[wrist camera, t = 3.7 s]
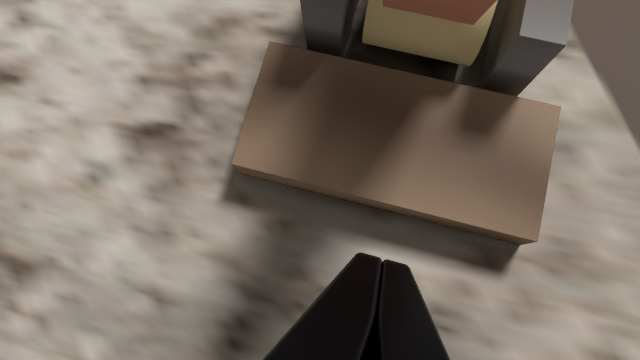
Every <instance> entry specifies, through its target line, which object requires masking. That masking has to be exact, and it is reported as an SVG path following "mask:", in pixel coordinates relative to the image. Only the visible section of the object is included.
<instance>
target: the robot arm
mask: <svg viewBox="0 0 640 360" xmlns="http://www.w3.org/2000/svg"><path fill="white" fill-rule="evenodd" d="M263 360H450V358H449V356H448V354H447V352H446V349H445V347H444V345H443V343H442V340H441V338H440V336H439V333H438V331H437V329H436V327H435V324H434V322H433V320H432V318H431V315H430V313H429V311H428V309H427V306H426V304H425V302H424V300H423V297H422V295H421V293H420V291H419V288H418V286H417V284H416V282H415V279H414V277H413V275H412V272H411V270H410V268H409V267H408V266H407V265H405V264H402V263H398V262H395V261H391V260H384V261H383V262H382V260H381V259H380V258H379V257H376V256H372V255H368V254H364V253H358V254H356V255H355V256H354V257H353V258H352V259H351V261H350V262H349V263H348V264H347V265H346V266H345V267H344V268H343V270H342V271H341V272H340V273H339V274H338V275H337V276H336V277H335V279H334V280H333V281H332V282H331V283H330V284H329V285H328V286H327V288H326V289H325V290H324V291H323V292H322V293H321V294H320V295H319V297H318V298H317V299H316V300H315V301H314V302H313V303H312V304H311V306H310V307H309V308H308V309H307V310H306V311H305V312H304V313H303V315H302V316H301V317H300V318H299V319H298V320H297V321H296V322H295V324H294V325H293V326H292V327H291V328H290V329H289V330H288V331H287V333H286V334H285V335H284V336H283V337H282V338H281V339H280V340H279V342H278V343H277V344H276V345H275V346H274V347H273V348H272V349H271V351H270V352H269V353H268V354H267V355H266V356H265V357H264V358H263Z"/></svg>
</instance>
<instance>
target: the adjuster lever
mask: <svg viewBox="0 0 640 360" xmlns="http://www.w3.org/2000/svg"><path fill="white" fill-rule="evenodd" d="M497 2H498V0H368V5H367V10H366V16H365V22H364V29H363V43H365V44H370V45H374V46H379V47H383V48H388V49H392V50H397V51H401V52H406V53H411V54H415V55H420V56H424V57H429V58H433V59H438V60H442V61H447V62H451V63H456V64H461V65H465V66H470V65H471V64H472V63H473V62H474V60H475V58H476V57H477V55H478V53H479V51H480V48H481V46H482V44H483V42H484V39H485V37H486V34H487V32H488V29H489V26H490V23H491V21H492V18H493V15H494V12H495V8H496V5H497Z"/></svg>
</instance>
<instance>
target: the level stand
mask: <svg viewBox="0 0 640 360" xmlns="http://www.w3.org/2000/svg"><path fill="white" fill-rule="evenodd" d="M358 1H359V0H300V2H301V9H302V16H303V22H304V29H305V36H306V42H307V49H308V50H306V49H302V48H297V47H293V46H288V45H284V44H279V43H275V42H269V45H268V48H267V51H266V55H265V58H264V61H263V64H262V67H261V70H260V74H259V77H258V80H257V83H256V86H255V90H254V93H253V96H252V99H251V102H250V105H249V109H248V112H247V115H246V118H245V121H244V124H243V128H242V131H241V134H240V137H239V140H238V144H237V147H236V150H235V153H234V156H233V159H232V163H231V164H232V165H233V166H234V167H235V168H236V169H237V170H238V171H239V172H240V173H242V174H246V175H250V176H254V177H258V178H261V179H265V180H269V181H273V182H277V183H281V184H285V185H289V186H293V187H297V188H301V189H304V190H308V191H312V192H316V193H320V194H324V195H328V196H332V197H336V198H340V199H344V200H347V201H351V202H355V203H359V204H363V205H367V206H371V207H375V208H379V209H383V210H387V211H391V212H394V213H398V214H402V215H406V216H410V217H414V218H418V219H422V220H426V221H430V222H434V223H437V224H441V225H445V226H449V227H453V228H457V229H461V230H465V231H469V232H473V233H477V234H480V235H484V236H488V237H492V238H496V239H500V240H504V241H508V242H512V243H516V244H520V245H522V244H528V243H533V242H538V237H539V231H540V225H541V219H542V213H543V208H544V202H545V196H546V190H547V184H548V179H549V173H550V167H551V161H552V156H553V150H554V144H555V138H556V132H557V127H558V121H559V115H560V109H561V107H560V106H556V105H551V104H547V103H542V102H538V101H533V100H529V99H524V98H520V97H517V96H518V95H519V94H520V93H521V92H522V91H523V90H524V89H525V87H526V86H527V85H528V84H529V83H530V82H531V81H532V80H533V79H534V78H535V77H536V76H537V75H538V74H539V73H540V72H541V71H542V70H543V69H544V68H545V67H546V66H547V65H548V64H549V63H550V61H551V60H552V59H553V58H554V57H555V56H556V55H557V54H558V53H559V52H560V51H561V50H562V49H563V48H564V47H565V46H566V44H567V38H568V32H569V27H570V21H571V15H572V10H573V3H574V0H499V1H498V2H497V5H496V8H495V12H494V15H493V20H492V24H491V29H490V34H489V38H488V43H487V48H486V52H485V57H484V62H483V67H482V71H481V76H480V81H479V85H478V88H475V87H471V86H467V85H462V84H458V83H453V82H449V81H444V80H440V79H435V78H431V77H426V76H422V75H417V74H413V73H409V72H404V71H400V70H395V69H391V68H386V67H382V66H377V65H373V64H368V63H364V62H360V61H355V60H351V59H346V58H343V55H344V51H345V47H346V44H347V40H348V37H349V33H350V29H351V26H352V22H353V19H354V15H355V11H356V8H357V4H358Z"/></svg>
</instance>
